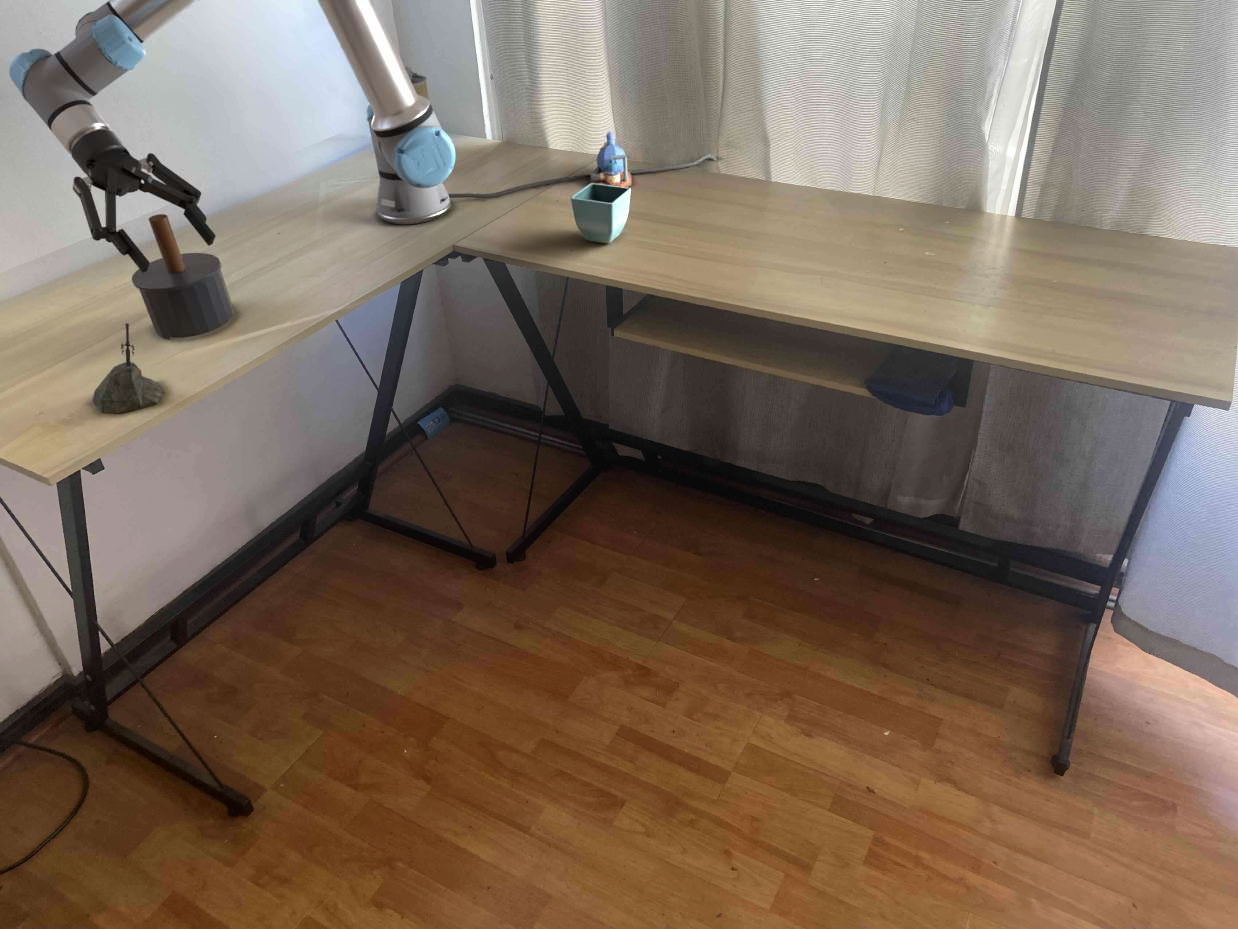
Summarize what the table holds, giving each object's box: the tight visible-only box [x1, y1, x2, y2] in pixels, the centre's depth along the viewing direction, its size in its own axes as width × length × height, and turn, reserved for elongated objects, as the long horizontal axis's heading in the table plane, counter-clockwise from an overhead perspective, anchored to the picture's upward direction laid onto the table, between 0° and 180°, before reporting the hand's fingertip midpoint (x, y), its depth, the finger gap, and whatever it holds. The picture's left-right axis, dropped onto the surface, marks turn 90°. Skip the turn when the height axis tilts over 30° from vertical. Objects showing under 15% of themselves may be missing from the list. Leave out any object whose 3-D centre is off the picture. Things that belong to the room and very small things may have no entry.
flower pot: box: [570, 183, 632, 244], centre depth 175 cm, size 9×9×9 cm
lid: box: [131, 213, 222, 292], centre depth 149 cm, size 14×14×10 cm
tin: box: [138, 268, 235, 341], centre depth 154 cm, size 13×13×9 cm
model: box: [589, 131, 633, 188], centre depth 201 cm, size 12×9×9 cm
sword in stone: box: [92, 322, 164, 414], centre depth 134 cm, size 10×8×12 cm
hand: (180, 253), depth 148 cm, fingers open, 11 cm apart
